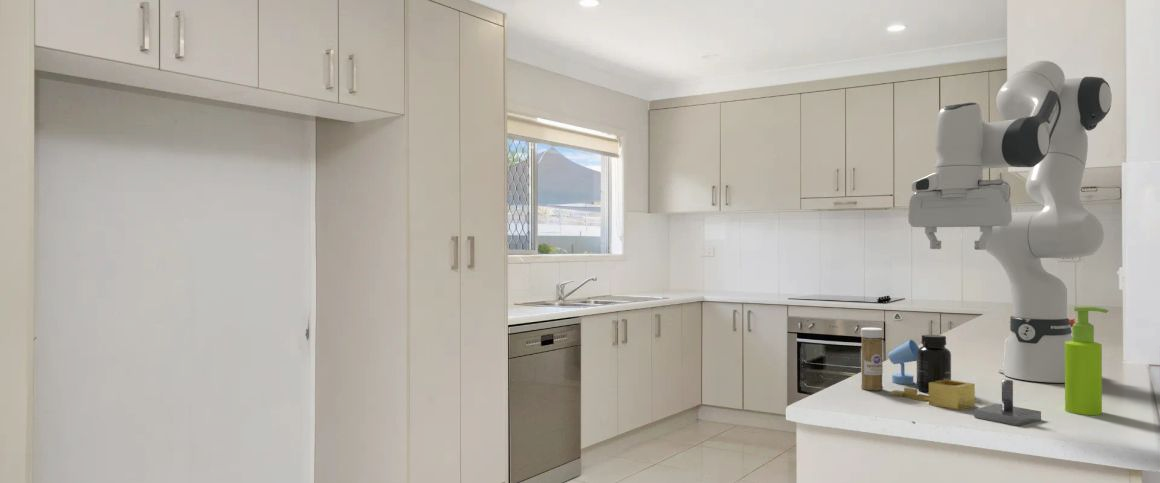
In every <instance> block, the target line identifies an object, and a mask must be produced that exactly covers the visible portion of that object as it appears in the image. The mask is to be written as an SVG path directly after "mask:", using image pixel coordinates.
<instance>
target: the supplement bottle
mask: <svg viewBox="0 0 1160 483" xmlns="http://www.w3.org/2000/svg"><path fill="white" fill-rule="evenodd" d="M920 342H921V344H922V346H920V347H919V349H918V350H917V361H916V389H917V390H918V391H920V392H922V393H923V392H924V393H928V394H929V382H934V381H939V380H944V379H948V380H952V353H951V351H950V350H949V349H948V348H947V347H946V345H947V336H945V335H940V334H922V335H921V341H920Z"/></svg>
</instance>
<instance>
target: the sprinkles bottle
mask: <svg viewBox="0 0 1160 483" xmlns="http://www.w3.org/2000/svg"><path fill="white" fill-rule="evenodd" d="M860 337H861V339H860V340H861V350H860V354H861V355H860V360H861V363H860V364H861V366H860V367H861V368H860V369H861V370H860V372H861V389H863V390H864V391H875V392H876V391H882V390H883V389H884V388H883V371H884V370H883V337H884V331H883V328H881V327H874V326H873V327H871V326H870V327H861V329H860Z"/></svg>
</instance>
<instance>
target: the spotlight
mask: <svg viewBox="0 0 1160 483" xmlns="http://www.w3.org/2000/svg"><path fill="white" fill-rule="evenodd" d="M919 348H920V347H919V345H918V344H917V343H916V341H915V340H913V339H909V340H907V341H906V342H904V343H903V344H901V345H899V346H898V347H896V348H894V349H892V350H891V351H889V352H888V358H889V361H890V362H891V364H894V365H898V364H899V365H900V373H893V374H892V375H891V376H892V377H891V381H892V383H893V384H897V385H913V384H914V375H913V374H910V373H905V364H906V363H910V362H911V363H912V362H917V350H918V349H919Z"/></svg>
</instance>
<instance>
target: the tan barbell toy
mask: <svg viewBox="0 0 1160 483" xmlns="http://www.w3.org/2000/svg"><path fill="white" fill-rule="evenodd" d="M917 390H918V389H917V388H911V387H904V389H903V390H898V389H897V390H896V389H894V390H892V391H890V395H891V396H893V397H894V396H895V397H900V398H901V397H902V398H905V397H906V398H909V399H913V400H915V401H916V400H917V401H922V402H927V401H928V402H929V395H928V394H921V393H919V394H918V391H917ZM903 396H904V397H903Z"/></svg>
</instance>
